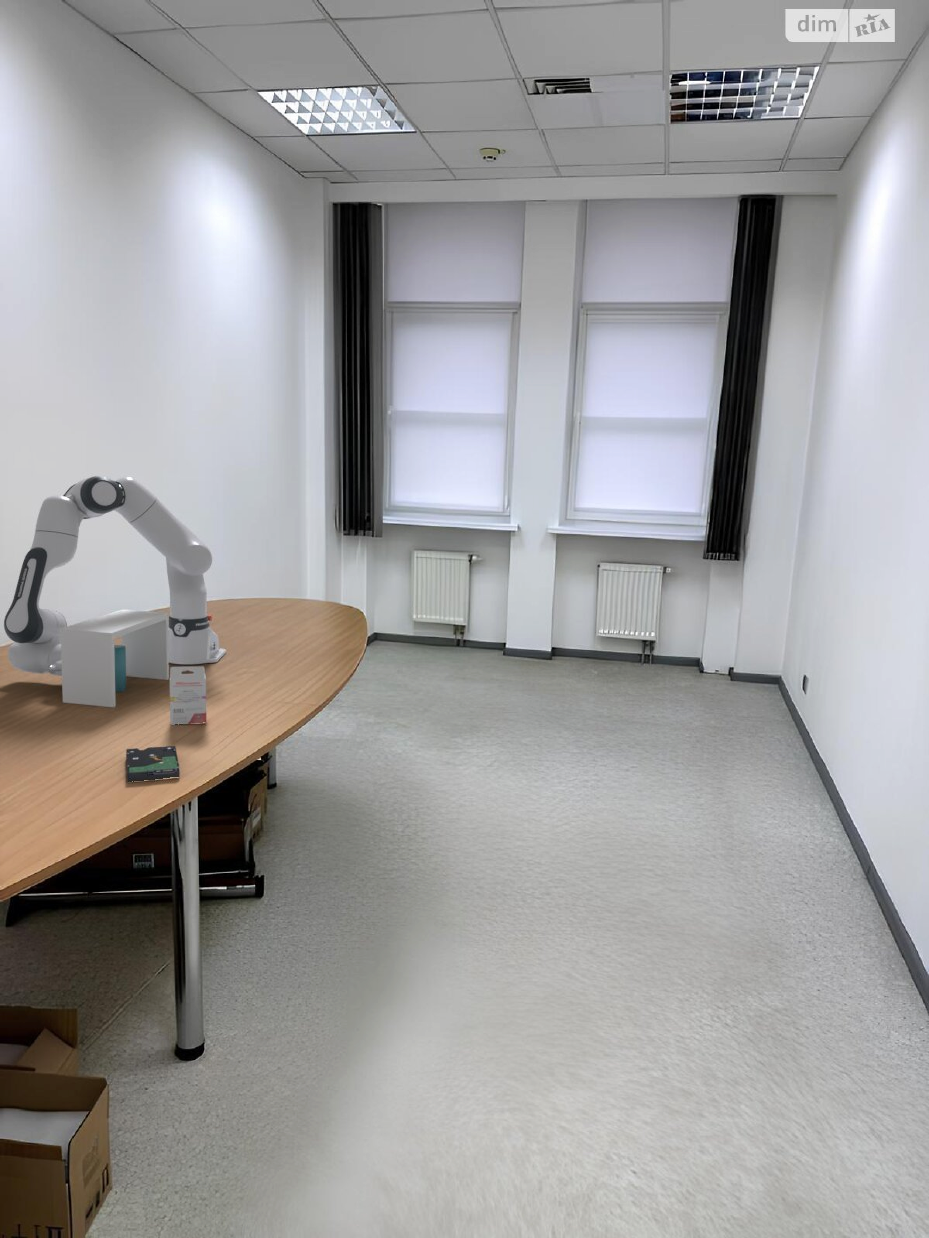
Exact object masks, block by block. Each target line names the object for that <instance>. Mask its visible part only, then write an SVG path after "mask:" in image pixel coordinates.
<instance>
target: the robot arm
mask: <svg viewBox="0 0 929 1238" xmlns="http://www.w3.org/2000/svg"><path fill="white" fill-rule="evenodd" d="M112 511H114V512H117V513H118V514H119V515H121V516H122V517H123V518H124V519H125V520H126V521H127V522H128V523H129V524H130V526H132V527H133V528H134V529H135V530H136V532H138V533H139V534H140V535H141V536H142V537H143V538H144V539H145V540H146V541H147V542H148V543H149V544H151V545H152V546H153V547H154V548H155V549H156V550H157V551H158V553H159V552H160V554H161V555H162V556H164V557H165V562H166V573H167V580H168V587H169V588H168V589H169V614H170V615H168V640H169V664H174V665H200V664H201V665H202V664H208V663H210V664H211V663H218V661H219V660H220V659H221V658H222V657H224V655H226V653H227V650H226V649H225V648H221V647H220V646H219V645H220V643H219V635H218V634H216V632H214V630H213V629H212V628H211V627H210V622H211V621H212V620H213V615H212V614H207V613H208V612H207V607H208V606H207V602H208V601H207V594H208V593H207V588H206V584H205V577H204V574H205V573H207V572H208V571H209V570H210V568H211V566H212V564H213V556H212V553H211V551H210V548H209V547H208V546H207V545H206V544H205V543H204V542H203V541H202V540H201V539H200V538H199V537H198V536H197V535H196V534H195V533H193V532H192V531H191V530H190V528H189V527H187V526H186V524H184V523H183V522H182V521H180V520H179V518H177V517H176V516H175V515H174V514H173V513H172V511H170V510H169V509H168V507H166V506H165V505H164V504H163V503H162V502H161V501H160V499H158V498H157V496H155V494H154V493H152V491H150V490H149V489H148V488H147V487H146V486H144V485H143V484H141V482H139V481H137V480H136V479H135V478H133V477H131V476H123V477H120V478H118V479H116V480H113V479H111V478H108V477H105V476H101V475H95V476H91V477H87V478H83V479H80V481H78V482H77V483H75V484H73V485H71V486H70V487H69V488H68V489H67V490H66V491H65V493H64V494H63V495H51V496H49V497H46V498H45V499H44V500H43V502H42V503H41V507H40V509H39V512H38V515H37V518H36V524H35V529H34V535H33V541H32V545H31V547H30V549H29V551H28V552H27V553H26V555H24V559H23V562H22V564H21V569H20V571H19V572H20V573H19V576H18V580H17V584H16V586H15V591H14V592H15V593H14V595H13V599H12V602H11V604H10V607H9V608H8V610H7V611H6V613H5V616H4V620H3V629H4V631H5V634H6V636H7V637H8V638H9V639H10V640H12V644H10V646H9V648H8V655H7V656H8V661H9V663H10V665H11V666H12V667H13V668H15V669H16V670H19V671H20V672H21V671H22V672H25V673H31V674H37V675H38V674H39V675H44V674H49V675H52V676H58V677H62V663H61V632H60V629H61V628H64V627H67V626H68V624H67V623H68V622H67V620H66V617H65V616H64V614H62V613H61V612H60V611H57V610H51V609H46V608H40V605H39V604H40V599H41V595H42V592H43V591H42V590H43V587H44V582H45V579H46V577H47V576H48V574H49V573H50V572H51V571H53V570H55V569H56V568H60V567H62V566H65V565H67V564H68V563H69V562H71V561H72V560H73V559H74V557H75V555H76V552H77V549H78V540H79V532H80V526H81V523H82V521H83V520H86V519H87V520H88V519H93V518H98V517H101V516H103V515H105V514H108V513H110V512H112Z"/></svg>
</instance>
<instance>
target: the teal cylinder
mask: <svg viewBox="0 0 929 1238" xmlns="http://www.w3.org/2000/svg"><path fill="white" fill-rule="evenodd" d="M114 654H115V693H122V692H125V691H126V690H127V676H126V647H125V646H122V645H121V644H114Z"/></svg>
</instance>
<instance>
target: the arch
mask: <svg viewBox="0 0 929 1238" xmlns="http://www.w3.org/2000/svg"><path fill="white" fill-rule="evenodd" d="M168 620H169V612H160V611H149V610H148V611H147V610H146V611H145V610H137V609H136V610H135V609H125V608H124V609H123V608H122V609H120V610H119V609H118V610H116V611H113V612H110V613H106V614H104V615H99V616H96V617H94V618H91V619H87V620H83V621H81V622H77V623H74V624H70V625H67V627H64V628H61V629H60V632H61V663H62V676H61V686H62V687H61V688H62V689H61V690H62V703H65V704H74V705H83V706H84V705H87V706H94V707H95V706H96V707H105V708H106V707H107V708H115V707H116V704H117V703H116V692H115V654H114V645H115V639H116V638H120V640H121V641H120V645H122V646H125V647H126V677H131V678H142V679H143V678H144V679H152V680H153V679H154V680H164V681H168V680H170V674H169V673H170V665H169V664H170V663H169V640H168V630H169V623H168Z"/></svg>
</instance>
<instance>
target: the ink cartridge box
mask: <svg viewBox="0 0 929 1238" xmlns="http://www.w3.org/2000/svg"><path fill="white" fill-rule="evenodd" d="M187 671H189V672H192V673H182V672H187ZM205 671H206V667H205V666H203V665H202V666H171V667H169V673H170V674H169V712H170V713H169V717H170V720H169V721H170V725H171V726H176V725H175V724H178V725H177V726H180V725H179V724H189V725H192V724H191V723H203V722H206V723H207V677H206V675H207V674H206V672H205Z"/></svg>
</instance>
